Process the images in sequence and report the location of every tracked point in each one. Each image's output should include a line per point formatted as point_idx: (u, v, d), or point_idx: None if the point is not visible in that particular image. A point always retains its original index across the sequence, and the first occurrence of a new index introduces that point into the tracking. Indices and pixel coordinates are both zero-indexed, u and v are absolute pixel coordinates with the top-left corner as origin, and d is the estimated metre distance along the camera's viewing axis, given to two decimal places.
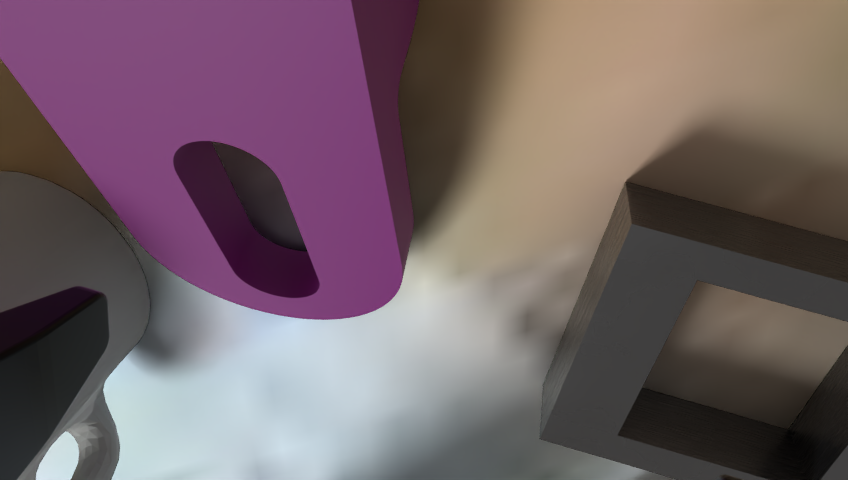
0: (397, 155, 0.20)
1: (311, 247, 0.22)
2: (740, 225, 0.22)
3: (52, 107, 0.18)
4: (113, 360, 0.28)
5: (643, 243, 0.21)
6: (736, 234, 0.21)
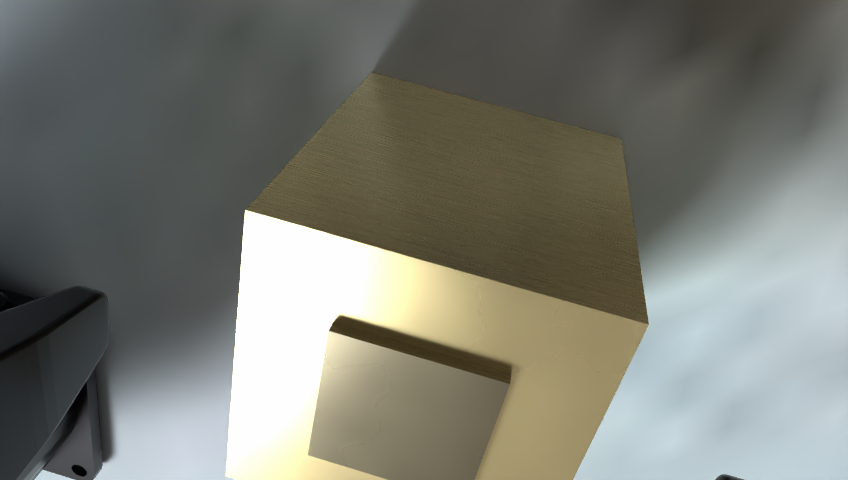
0: None
1: None
2: None
3: None
4: None
5: None
6: None
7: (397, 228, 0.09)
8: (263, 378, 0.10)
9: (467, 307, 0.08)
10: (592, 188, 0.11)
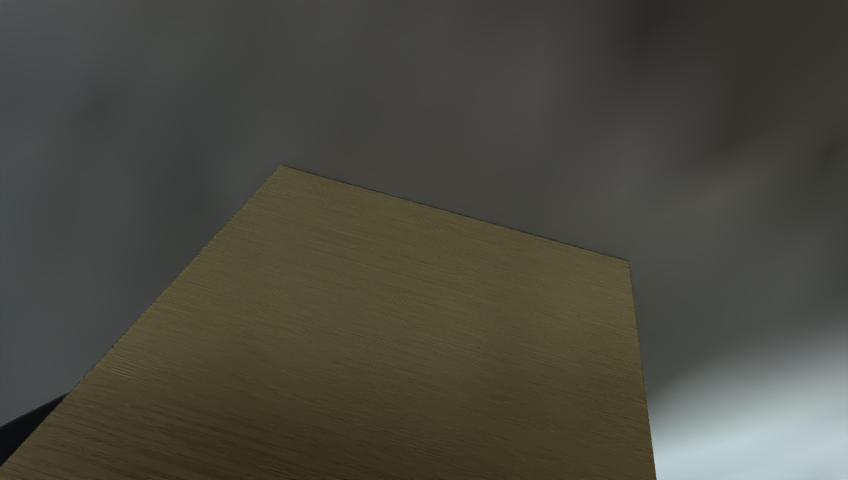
0: None
1: None
2: None
3: None
4: None
5: None
6: None
7: None
8: None
9: None
10: (588, 377, 0.07)
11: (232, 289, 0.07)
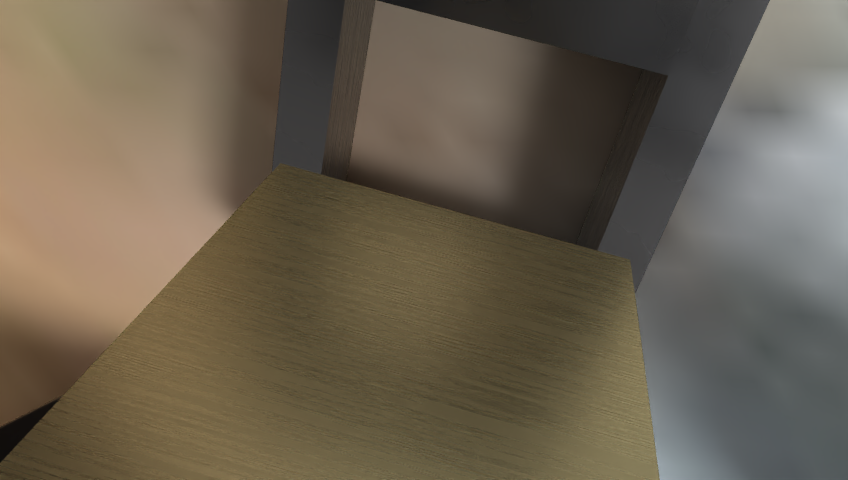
0: None
1: None
2: None
3: None
4: None
5: None
6: None
7: None
8: None
9: None
10: (589, 376, 0.07)
11: (231, 287, 0.07)
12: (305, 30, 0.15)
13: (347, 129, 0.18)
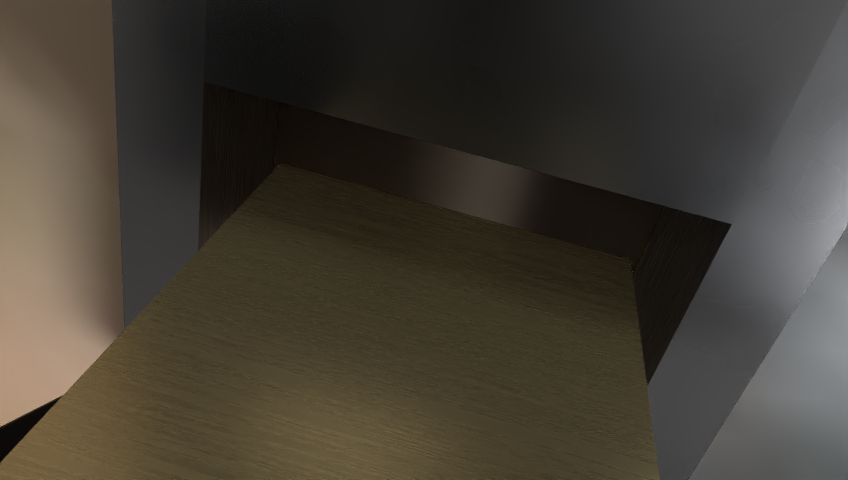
0: None
1: None
2: None
3: None
4: None
5: None
6: None
7: None
8: None
9: None
10: (589, 376, 0.07)
11: (231, 287, 0.07)
12: (148, 136, 0.09)
13: None
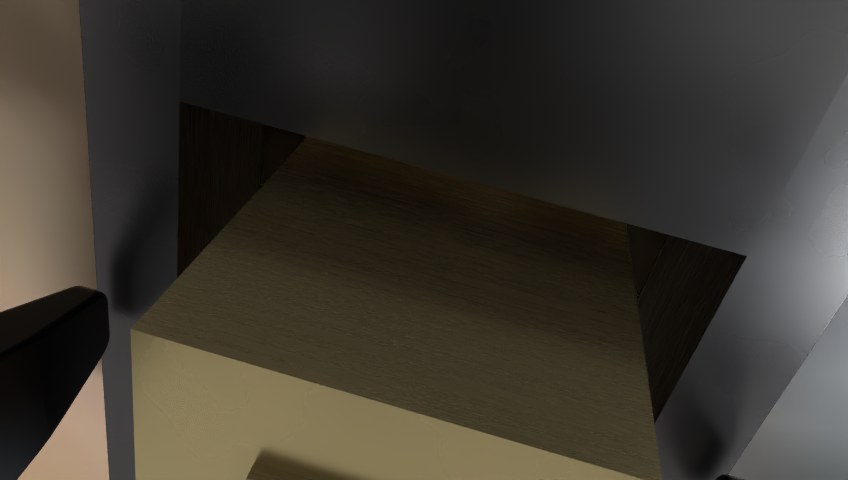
0: None
1: None
2: None
3: None
4: None
5: None
6: None
7: (335, 346, 0.07)
8: None
9: (425, 454, 0.06)
10: (587, 266, 0.09)
11: (304, 197, 0.09)
12: (121, 158, 0.09)
13: None
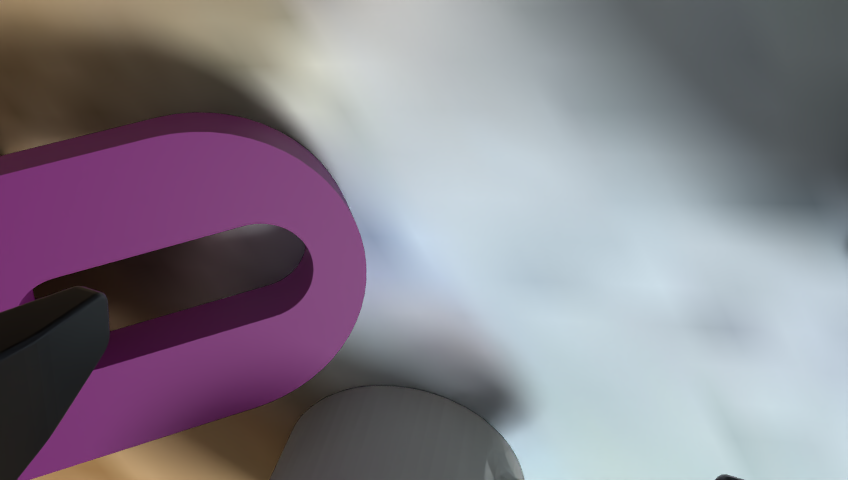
0: (14, 158, 0.18)
1: (169, 239, 0.19)
2: None
3: (53, 458, 0.21)
4: (435, 453, 0.23)
5: None
6: None
7: None
8: None
9: None
10: None
11: None
12: None
13: None
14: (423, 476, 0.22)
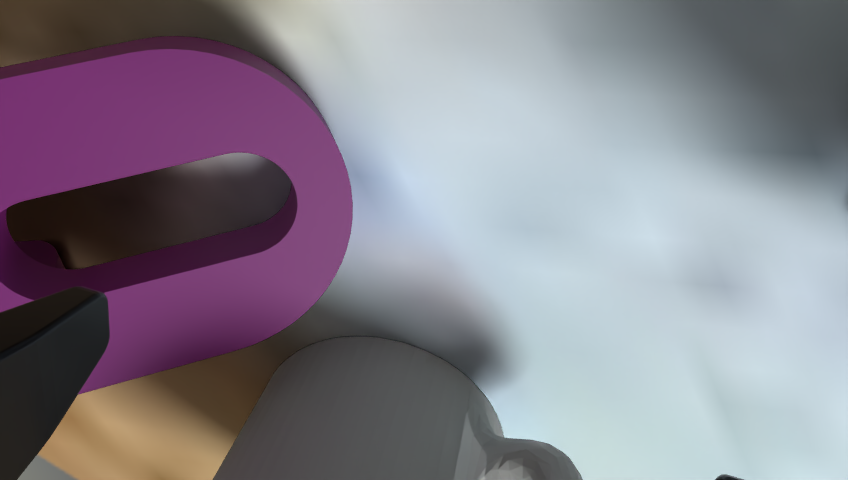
0: None
1: (146, 165, 0.18)
2: None
3: None
4: (414, 404, 0.22)
5: None
6: None
7: None
8: None
9: None
10: None
11: None
12: None
13: None
14: (400, 425, 0.21)
